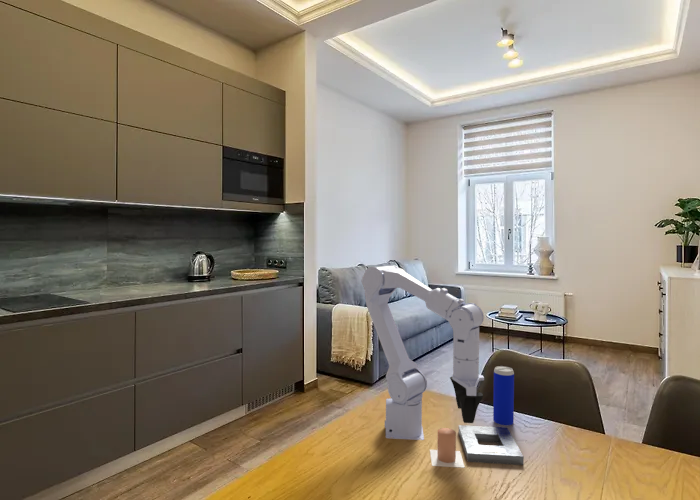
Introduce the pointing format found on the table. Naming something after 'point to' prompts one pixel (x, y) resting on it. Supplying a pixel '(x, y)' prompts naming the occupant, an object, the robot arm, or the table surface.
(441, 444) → the peg
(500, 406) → the beverage can
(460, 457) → the tile
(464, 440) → the hole plate
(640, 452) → the table surface
